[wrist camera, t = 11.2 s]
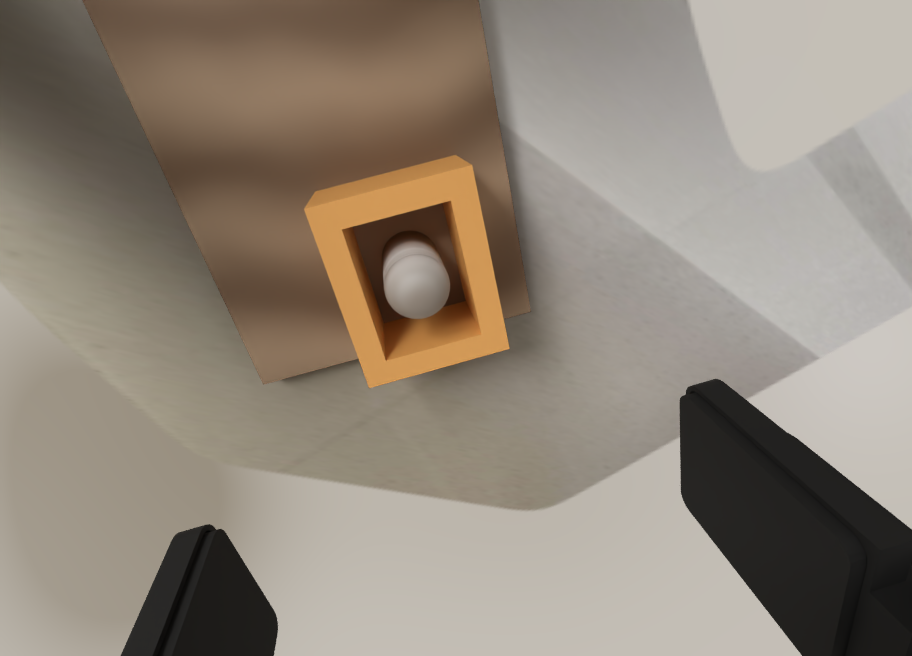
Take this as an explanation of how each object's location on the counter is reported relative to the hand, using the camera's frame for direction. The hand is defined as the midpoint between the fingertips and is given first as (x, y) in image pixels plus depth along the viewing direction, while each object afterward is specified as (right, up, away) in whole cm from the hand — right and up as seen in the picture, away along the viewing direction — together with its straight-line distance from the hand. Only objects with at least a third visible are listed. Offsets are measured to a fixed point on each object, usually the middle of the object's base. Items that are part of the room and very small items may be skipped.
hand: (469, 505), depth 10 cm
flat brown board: (-6, +13, +15) cm, 21 cm away
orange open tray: (-3, +7, +16) cm, 18 cm away
